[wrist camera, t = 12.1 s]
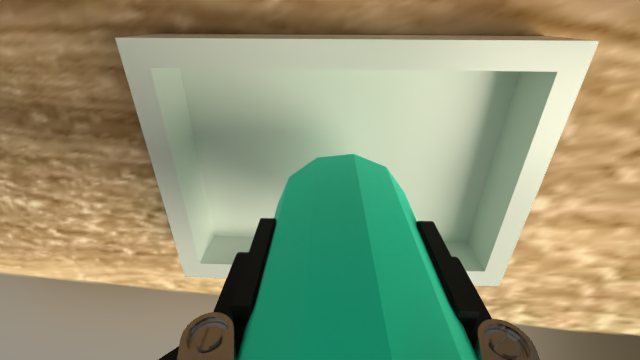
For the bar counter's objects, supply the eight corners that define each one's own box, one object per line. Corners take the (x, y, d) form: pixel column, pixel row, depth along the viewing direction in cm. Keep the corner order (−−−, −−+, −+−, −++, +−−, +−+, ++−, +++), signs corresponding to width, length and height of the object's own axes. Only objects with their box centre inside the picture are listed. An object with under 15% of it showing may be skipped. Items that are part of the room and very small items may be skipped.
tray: (157, 33, 16) (114, 37, 13) (545, 35, 15) (599, 40, 12) (204, 241, 22) (184, 276, 19) (475, 248, 22) (499, 286, 19)
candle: (423, 163, 13) (879, 858, 2) (388, 266, 16) (515, 790, 5) (282, 143, 13) (29, 825, 2) (273, 252, 15) (149, 772, 5)
